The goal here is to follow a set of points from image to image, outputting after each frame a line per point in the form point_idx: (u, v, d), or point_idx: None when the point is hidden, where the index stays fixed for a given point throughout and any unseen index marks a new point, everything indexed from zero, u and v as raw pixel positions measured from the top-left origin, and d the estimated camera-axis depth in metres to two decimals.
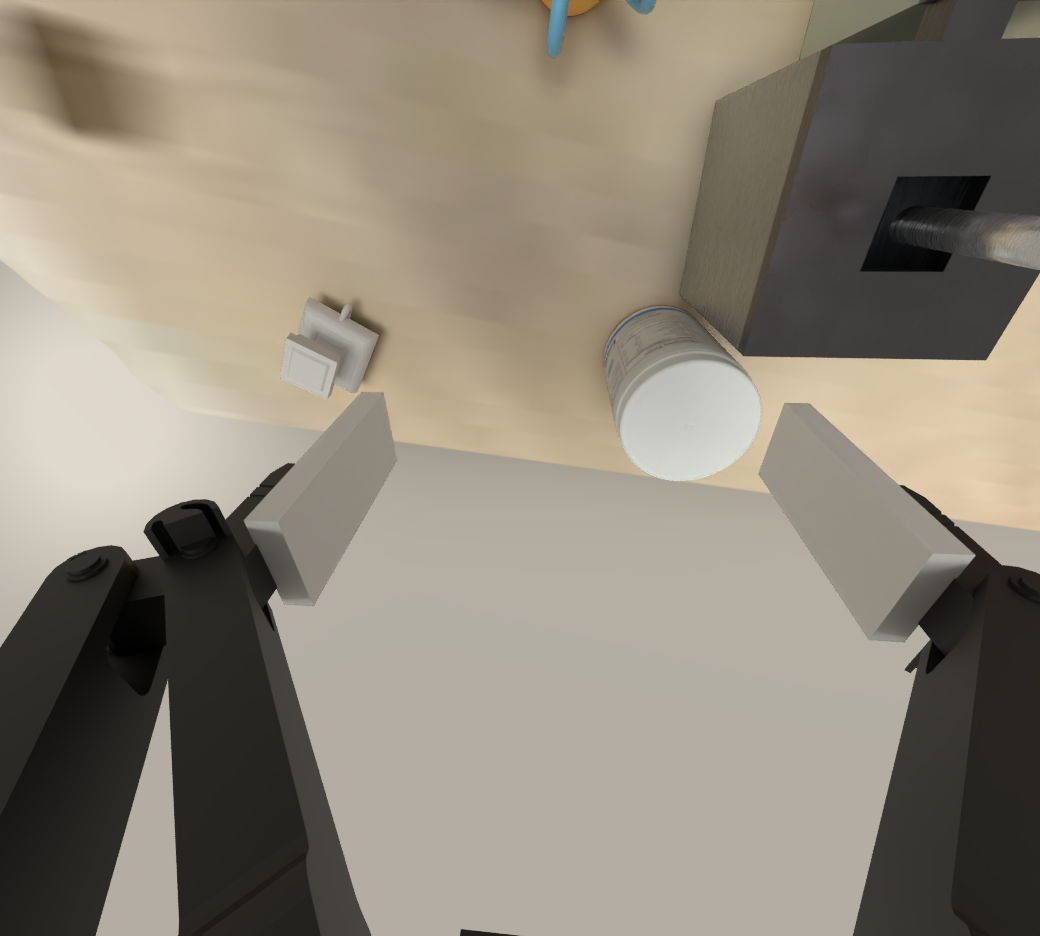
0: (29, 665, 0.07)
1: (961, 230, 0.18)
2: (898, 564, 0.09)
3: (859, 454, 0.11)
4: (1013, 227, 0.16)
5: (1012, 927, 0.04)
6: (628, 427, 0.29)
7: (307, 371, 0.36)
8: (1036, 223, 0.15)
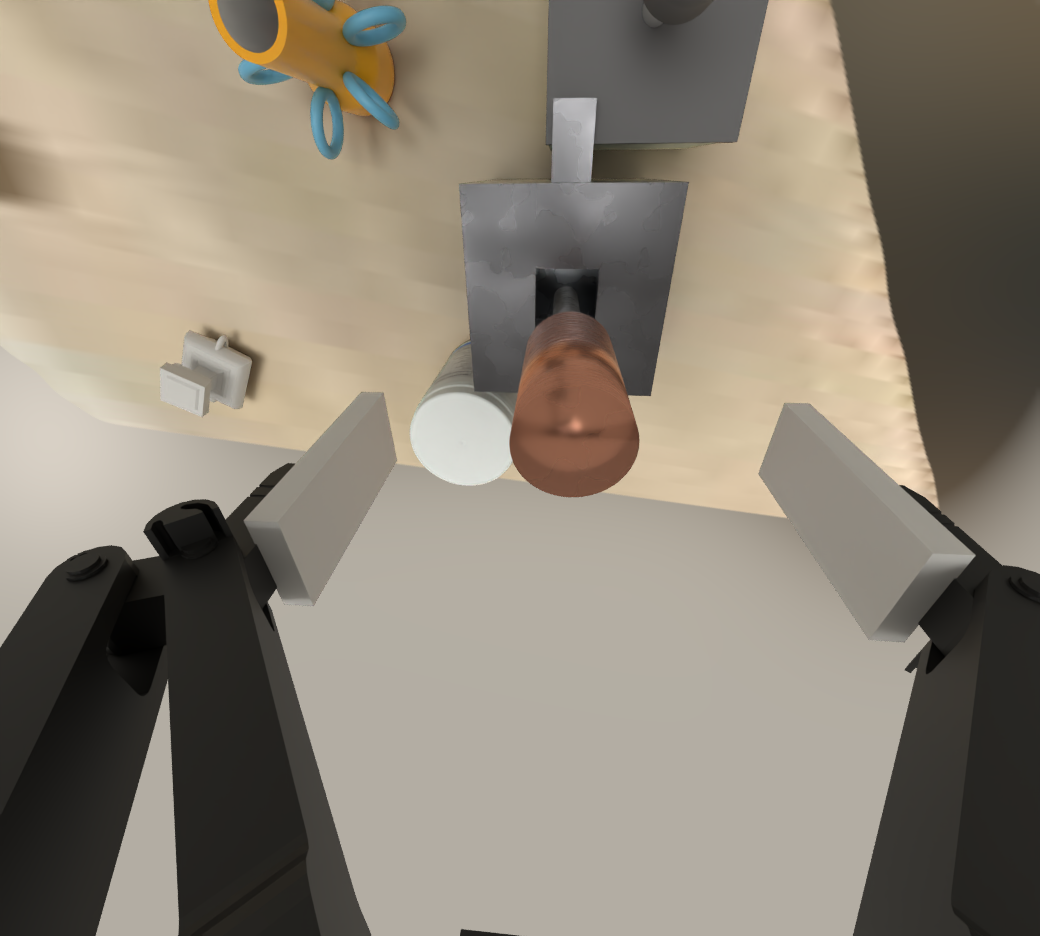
0: (29, 665, 0.07)
1: (553, 314, 0.25)
2: (898, 564, 0.09)
3: (859, 454, 0.11)
4: None
5: (1011, 927, 0.04)
6: (416, 443, 0.37)
7: (181, 394, 0.43)
8: None
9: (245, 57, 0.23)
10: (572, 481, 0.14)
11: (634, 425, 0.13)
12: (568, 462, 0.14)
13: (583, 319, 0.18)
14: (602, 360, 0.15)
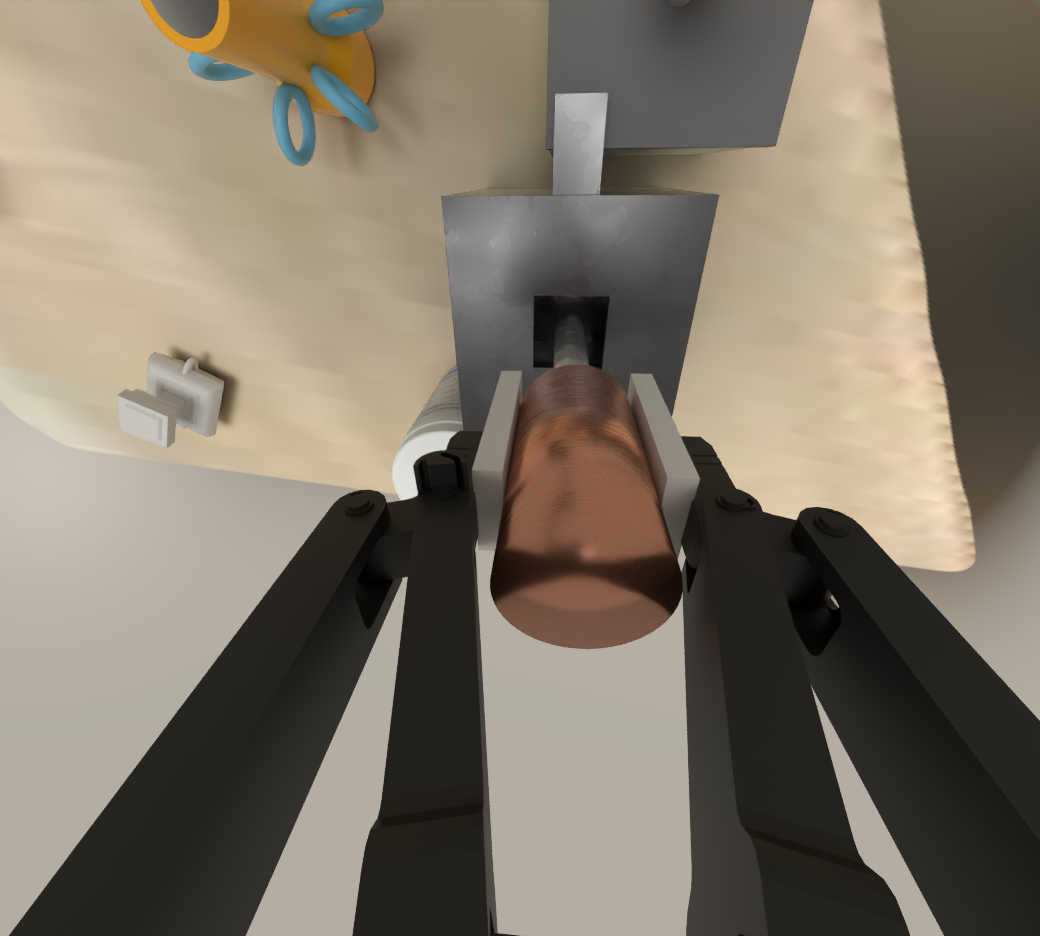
0: (308, 578, 0.08)
1: (554, 351, 0.21)
2: (658, 492, 0.11)
3: (664, 411, 0.13)
4: (557, 361, 0.19)
5: (777, 807, 0.05)
6: (399, 485, 0.33)
7: (142, 424, 0.39)
8: (560, 362, 0.19)
9: (181, 44, 0.19)
10: (582, 632, 0.10)
11: (677, 570, 0.09)
12: (576, 610, 0.09)
13: (594, 377, 0.14)
14: (624, 453, 0.10)
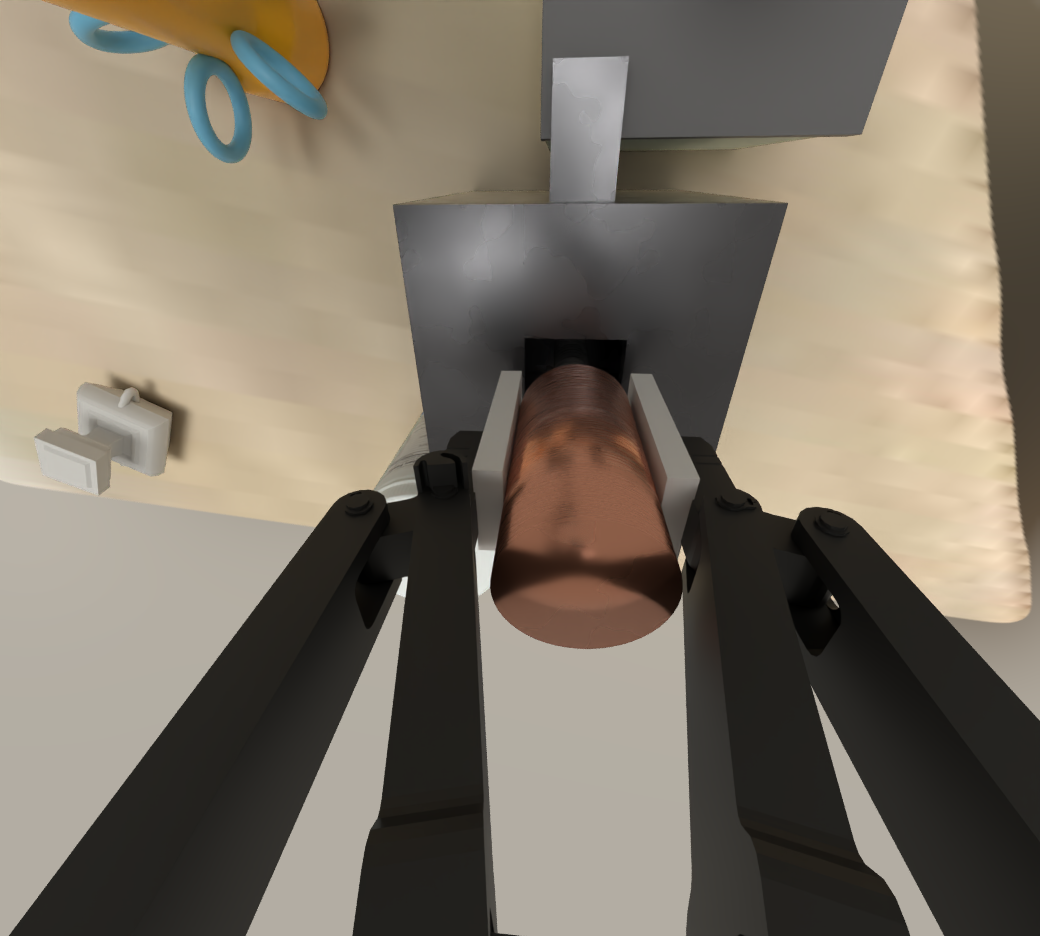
0: (308, 578, 0.08)
1: (554, 352, 0.21)
2: (658, 491, 0.11)
3: (664, 411, 0.13)
4: (557, 361, 0.19)
5: (777, 807, 0.05)
6: None
7: (66, 469, 0.33)
8: (560, 362, 0.19)
9: None
10: (582, 632, 0.10)
11: (677, 570, 0.09)
12: (577, 610, 0.09)
13: (594, 377, 0.14)
14: (624, 453, 0.10)
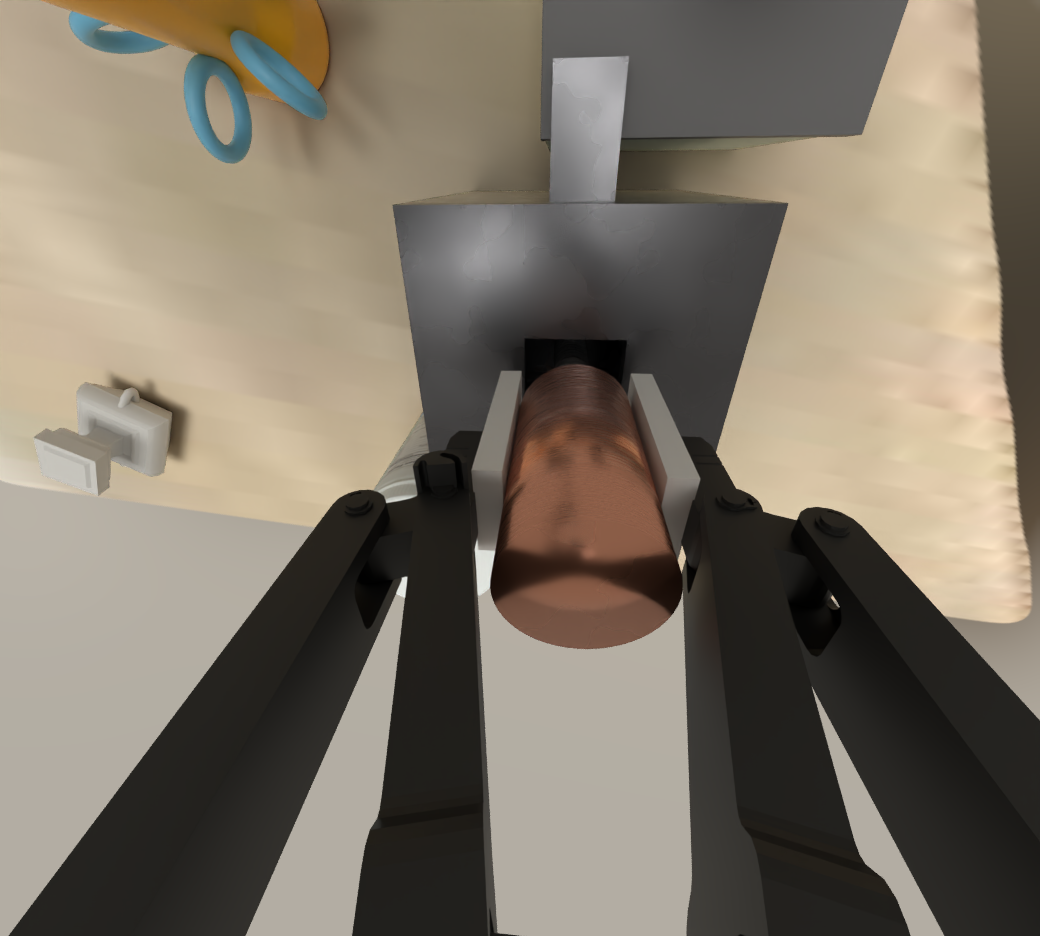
0: (308, 578, 0.08)
1: (554, 352, 0.21)
2: (658, 492, 0.11)
3: (664, 411, 0.13)
4: (557, 361, 0.19)
5: (777, 807, 0.05)
6: None
7: (66, 469, 0.33)
8: (560, 363, 0.19)
9: None
10: (582, 632, 0.10)
11: (676, 570, 0.09)
12: (576, 609, 0.09)
13: (594, 377, 0.14)
14: (624, 453, 0.10)
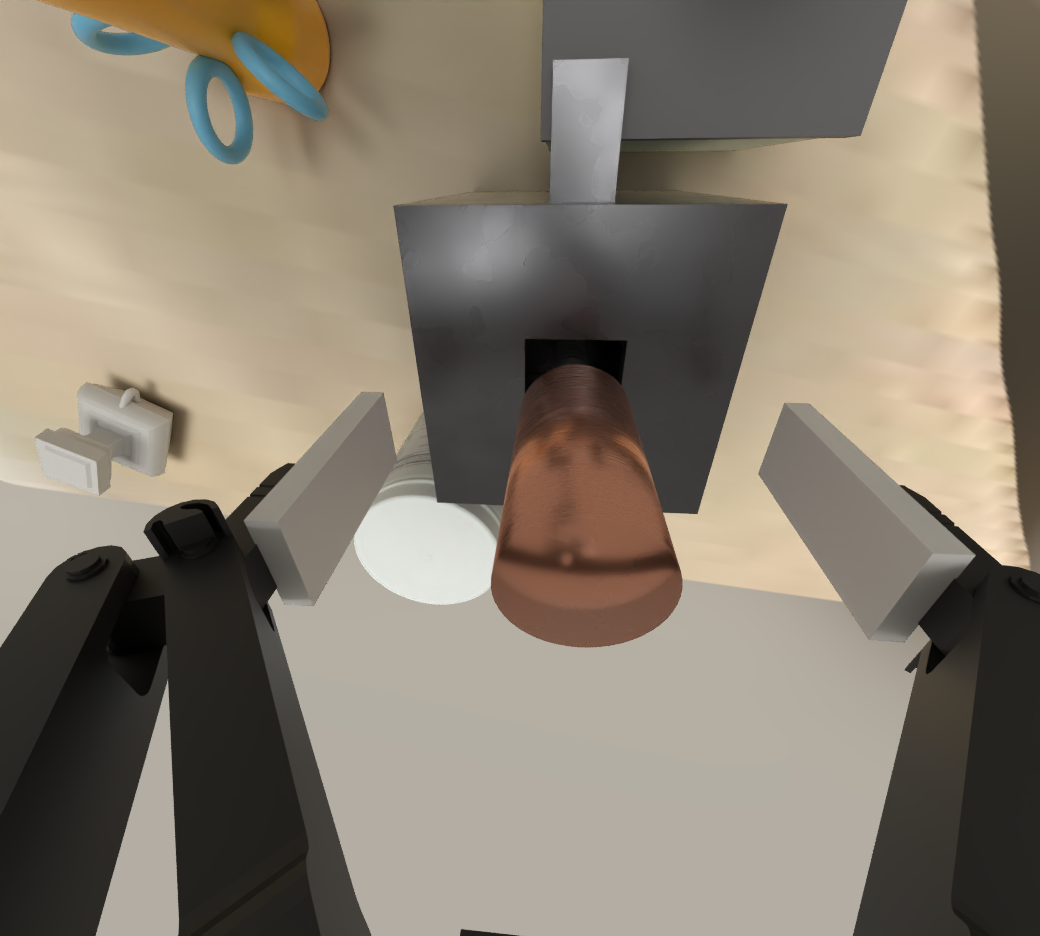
0: (29, 665, 0.07)
1: (554, 352, 0.21)
2: (898, 564, 0.09)
3: (859, 454, 0.11)
4: (557, 362, 0.19)
5: (1011, 927, 0.04)
6: (364, 555, 0.27)
7: (67, 469, 0.33)
8: (560, 363, 0.19)
9: None
10: (582, 630, 0.10)
11: (676, 569, 0.09)
12: (576, 608, 0.09)
13: (594, 377, 0.14)
14: (624, 452, 0.10)
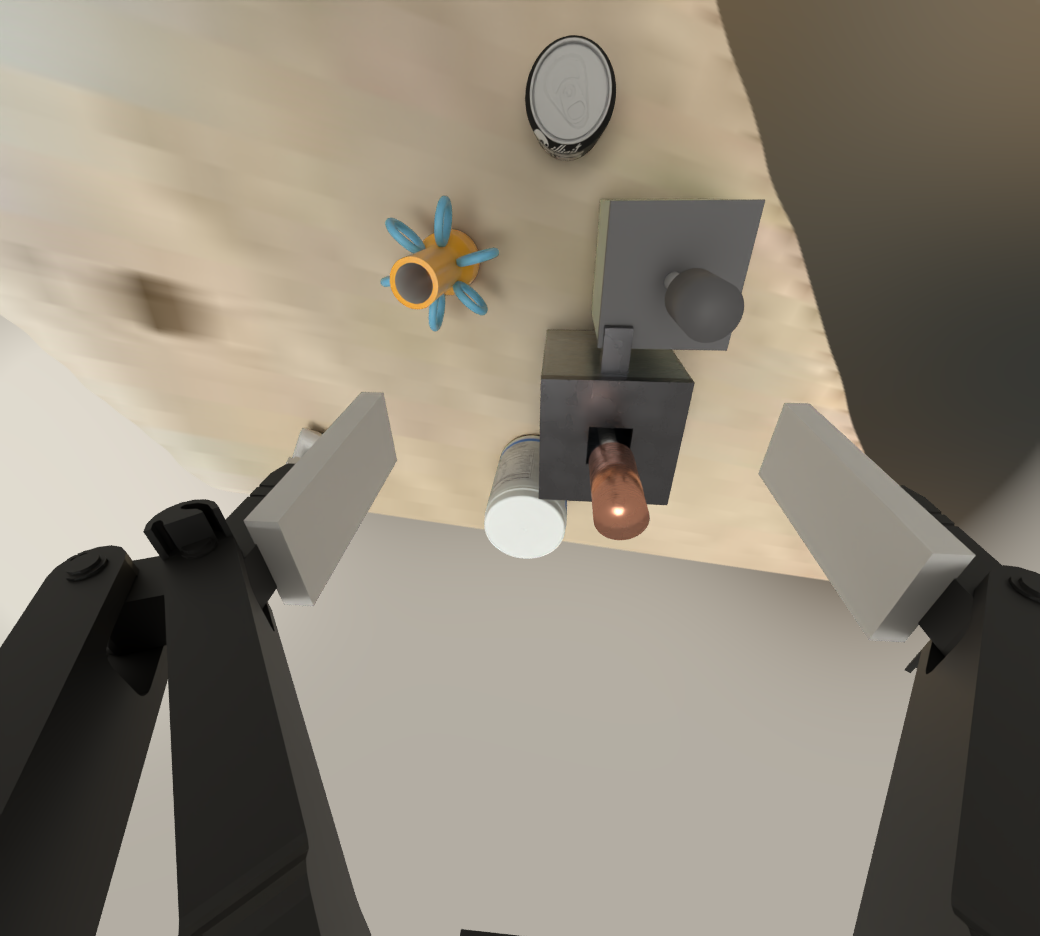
0: (29, 665, 0.07)
1: None
2: (898, 564, 0.09)
3: (859, 454, 0.11)
4: (600, 433, 0.42)
5: (1012, 927, 0.04)
6: (489, 528, 0.49)
7: None
8: (603, 435, 0.41)
9: (407, 305, 0.36)
10: (620, 533, 0.32)
11: (647, 511, 0.31)
12: (618, 525, 0.32)
13: (620, 448, 0.36)
14: (632, 478, 0.33)
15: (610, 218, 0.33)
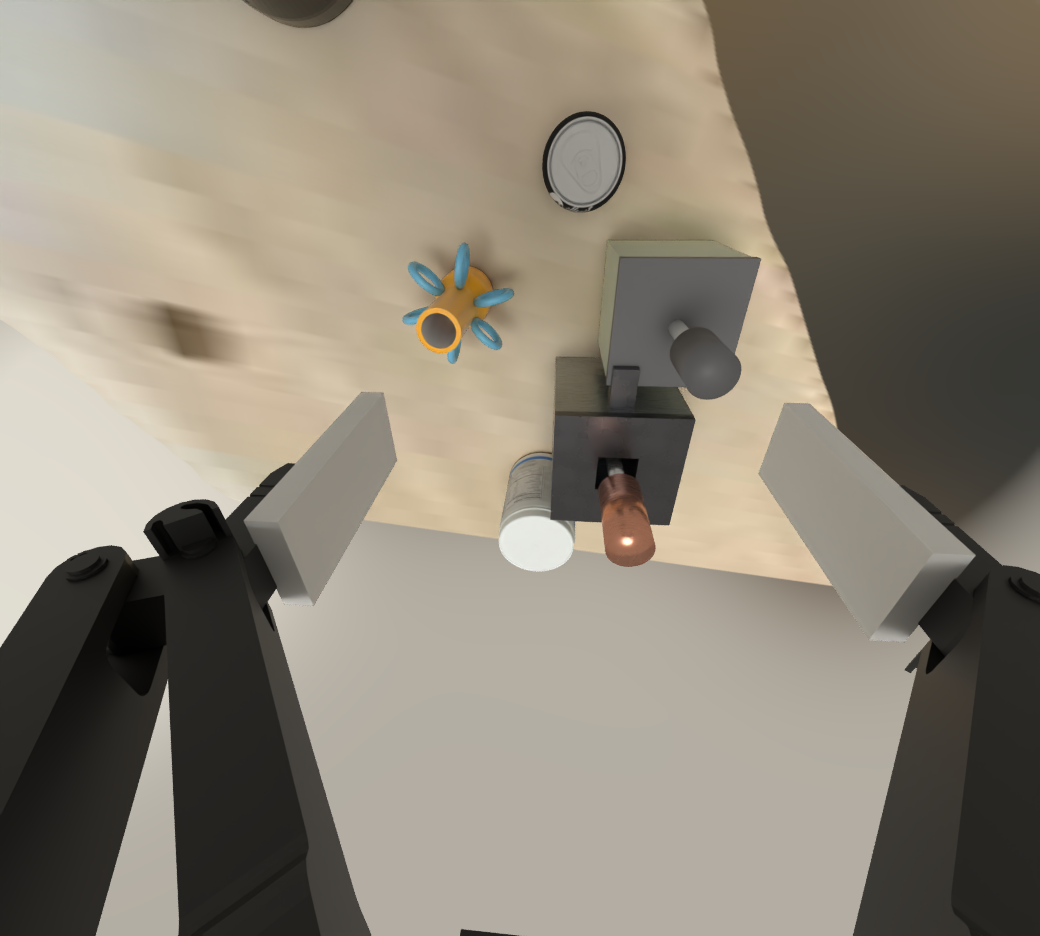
0: (29, 665, 0.07)
1: None
2: (898, 564, 0.09)
3: (859, 454, 0.11)
4: (608, 461, 0.45)
5: (1012, 927, 0.04)
6: (503, 545, 0.53)
7: None
8: (610, 463, 0.45)
9: (432, 350, 0.39)
10: (628, 561, 0.36)
11: (653, 543, 0.35)
12: (627, 554, 0.35)
13: (628, 480, 0.40)
14: (640, 511, 0.36)
15: (619, 273, 0.36)
